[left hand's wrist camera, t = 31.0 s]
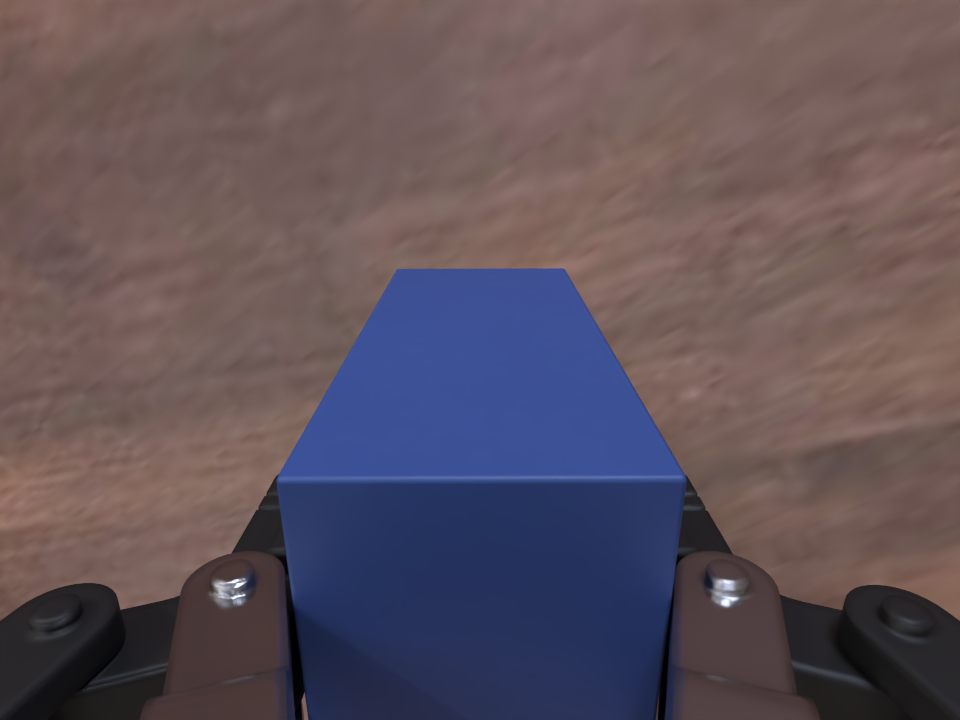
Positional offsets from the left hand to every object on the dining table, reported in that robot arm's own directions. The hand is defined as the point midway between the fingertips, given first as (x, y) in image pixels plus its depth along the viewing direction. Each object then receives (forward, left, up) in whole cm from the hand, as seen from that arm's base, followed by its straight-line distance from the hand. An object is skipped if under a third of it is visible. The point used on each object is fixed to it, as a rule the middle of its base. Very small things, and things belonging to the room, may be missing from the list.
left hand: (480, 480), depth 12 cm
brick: (0, 0, -6) cm, 6 cm away
